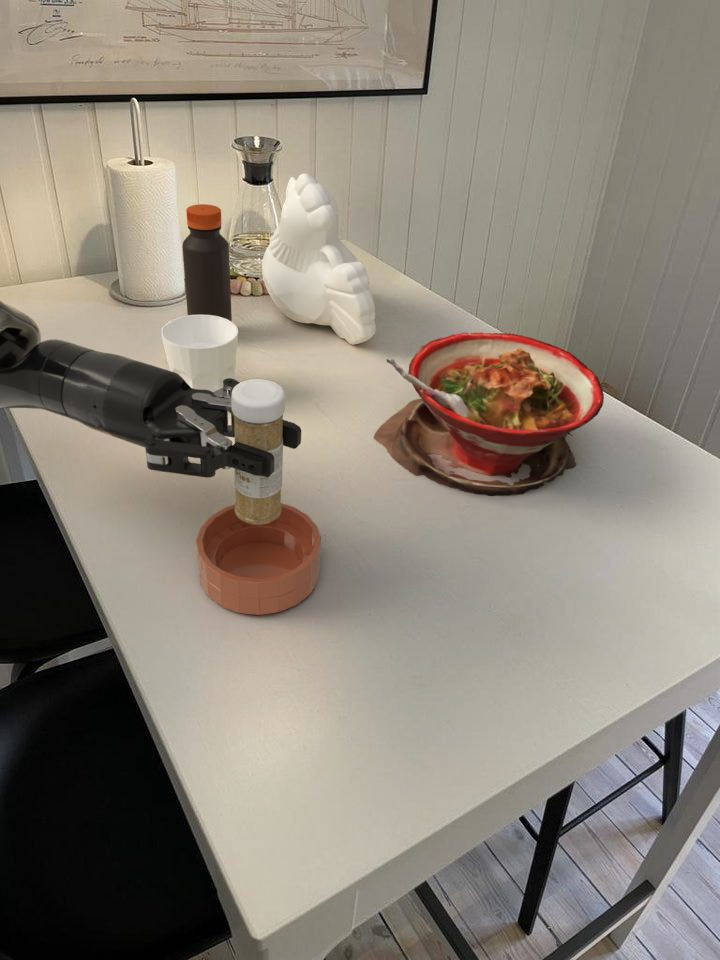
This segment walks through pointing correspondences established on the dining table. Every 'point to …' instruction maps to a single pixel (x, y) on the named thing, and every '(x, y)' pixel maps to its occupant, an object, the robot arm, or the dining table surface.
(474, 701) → the dining table surface
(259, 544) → the bowl
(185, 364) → the cup
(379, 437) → the stew
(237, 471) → the sprinkles bottle
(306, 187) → the decorative rooster
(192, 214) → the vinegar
